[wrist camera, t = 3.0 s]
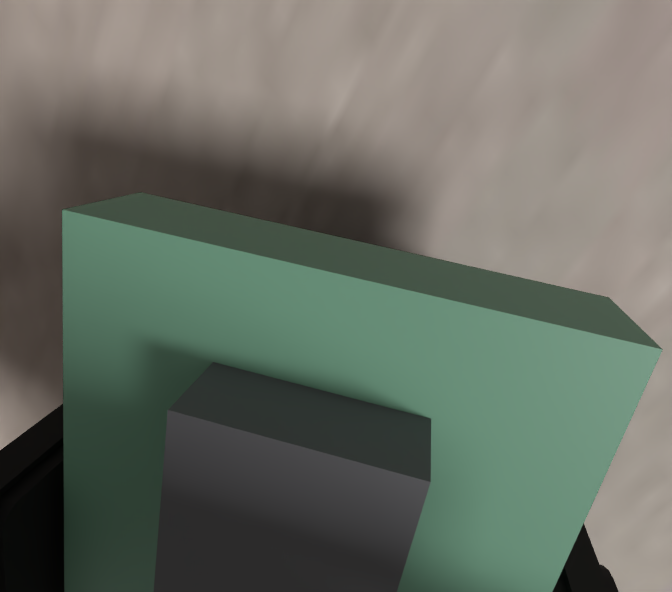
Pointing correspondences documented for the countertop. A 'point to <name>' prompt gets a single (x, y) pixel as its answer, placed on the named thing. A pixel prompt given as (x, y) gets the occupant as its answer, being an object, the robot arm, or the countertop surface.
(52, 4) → the countertop surface
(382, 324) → the board
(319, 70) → the countertop surface
